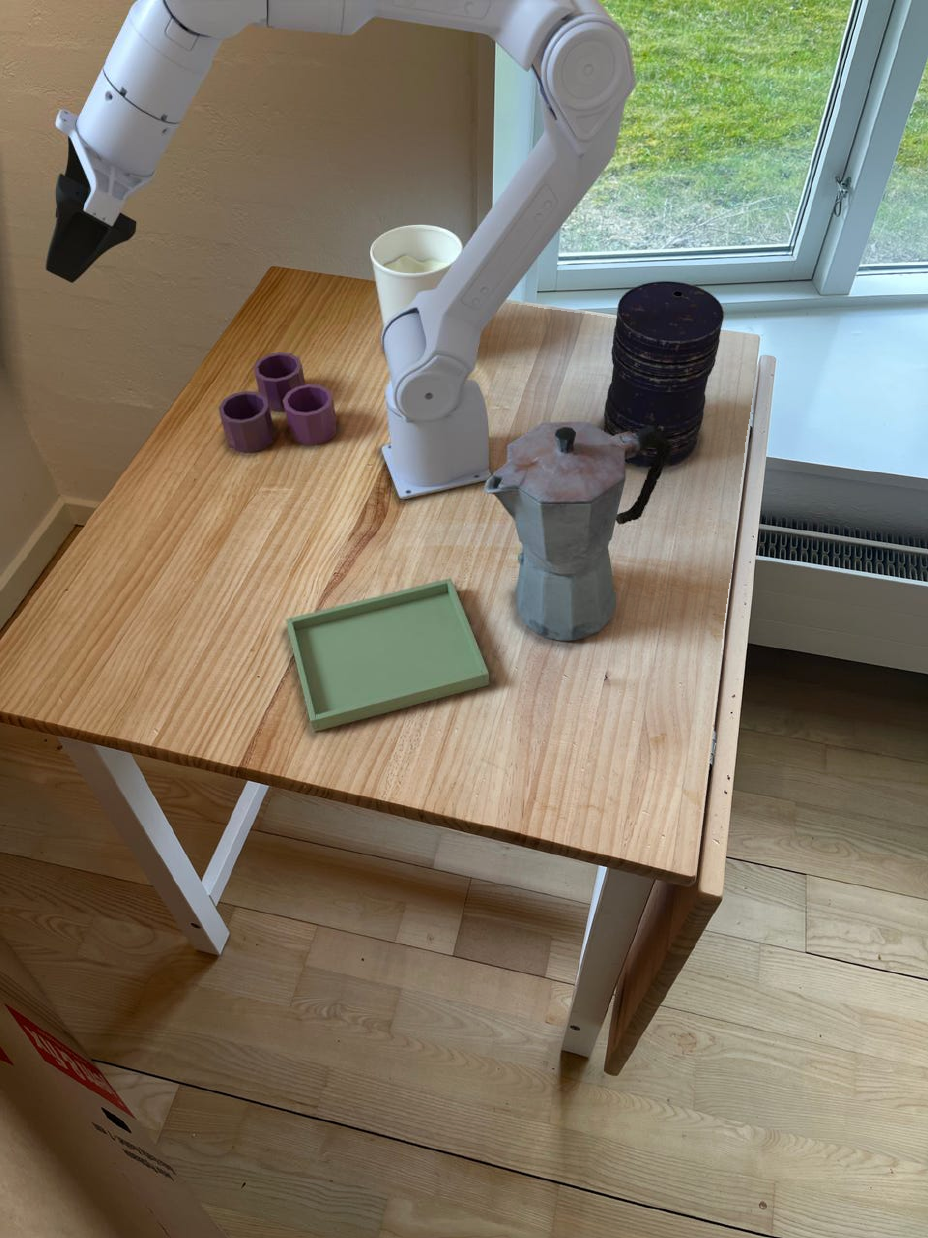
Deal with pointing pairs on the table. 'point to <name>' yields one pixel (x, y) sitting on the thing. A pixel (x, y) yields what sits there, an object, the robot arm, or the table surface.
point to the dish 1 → (247, 421)
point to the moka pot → (570, 519)
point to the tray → (385, 654)
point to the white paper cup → (411, 264)
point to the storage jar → (662, 364)
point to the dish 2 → (310, 414)
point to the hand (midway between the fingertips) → (64, 246)
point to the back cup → (278, 377)
